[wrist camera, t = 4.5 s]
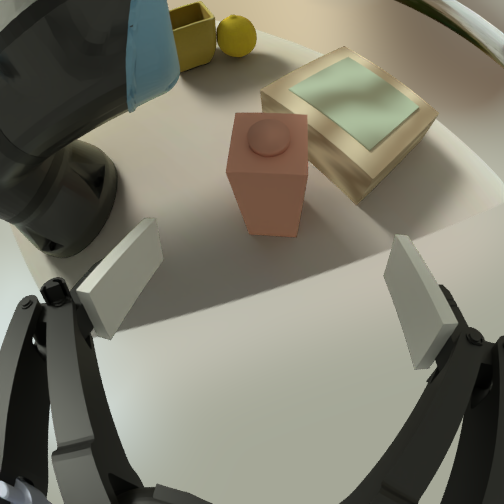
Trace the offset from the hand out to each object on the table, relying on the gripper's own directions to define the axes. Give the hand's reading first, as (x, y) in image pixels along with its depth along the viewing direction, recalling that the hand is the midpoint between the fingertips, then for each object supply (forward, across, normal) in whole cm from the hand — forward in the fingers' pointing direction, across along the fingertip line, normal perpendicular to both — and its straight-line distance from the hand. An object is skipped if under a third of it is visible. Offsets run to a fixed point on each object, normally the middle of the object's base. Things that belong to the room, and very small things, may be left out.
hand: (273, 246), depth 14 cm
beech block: (+21, +7, +4) cm, 22 cm away
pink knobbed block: (+12, -1, -4) cm, 13 cm away
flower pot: (+30, -15, +14) cm, 37 cm away
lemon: (+30, -7, +14) cm, 34 cm away
